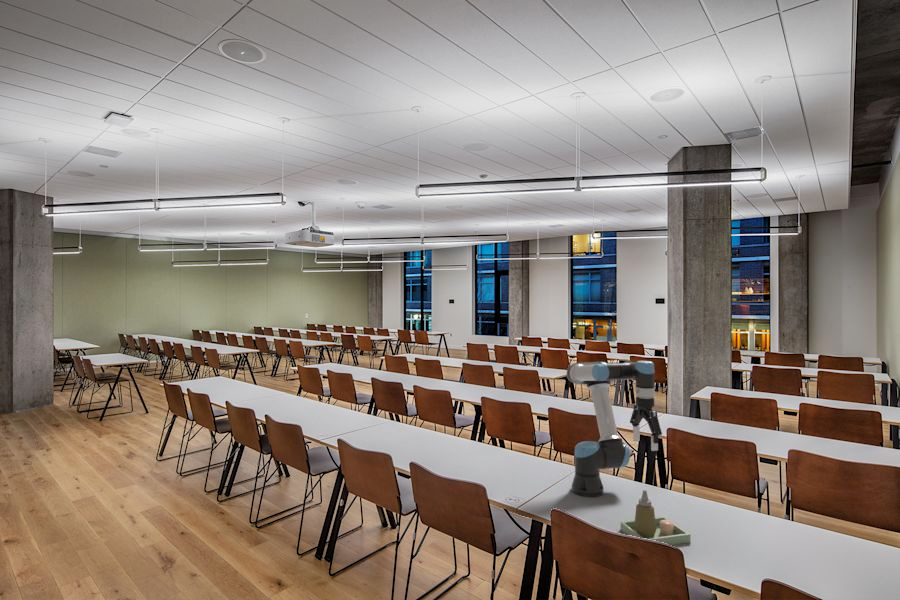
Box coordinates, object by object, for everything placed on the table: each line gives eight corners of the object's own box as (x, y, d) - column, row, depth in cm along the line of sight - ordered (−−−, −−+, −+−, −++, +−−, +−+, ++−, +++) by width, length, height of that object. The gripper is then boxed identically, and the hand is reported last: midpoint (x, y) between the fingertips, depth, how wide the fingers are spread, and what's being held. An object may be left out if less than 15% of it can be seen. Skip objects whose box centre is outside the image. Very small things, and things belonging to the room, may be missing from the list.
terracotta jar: (657, 531, 198) (657, 520, 198) (668, 530, 199) (668, 519, 199) (664, 537, 193) (664, 525, 193) (676, 536, 194) (676, 524, 194)
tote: (620, 530, 201) (620, 521, 201) (664, 524, 205) (663, 516, 205) (644, 549, 185) (643, 540, 185) (690, 543, 189) (690, 534, 189)
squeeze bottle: (643, 542, 189) (642, 496, 189) (630, 533, 197) (629, 488, 197) (661, 539, 191) (660, 493, 191) (647, 530, 199) (646, 486, 199)
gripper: (621, 391, 225) (622, 437, 226) (654, 403, 201) (654, 455, 201) (636, 390, 227) (637, 436, 227) (670, 402, 202) (671, 454, 203)
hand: (645, 445), depth 214 cm, fingers open, 13 cm apart
